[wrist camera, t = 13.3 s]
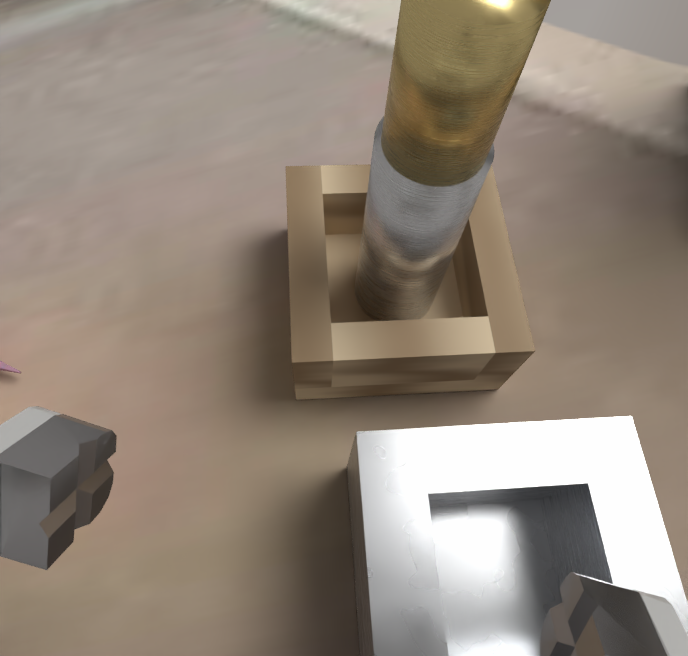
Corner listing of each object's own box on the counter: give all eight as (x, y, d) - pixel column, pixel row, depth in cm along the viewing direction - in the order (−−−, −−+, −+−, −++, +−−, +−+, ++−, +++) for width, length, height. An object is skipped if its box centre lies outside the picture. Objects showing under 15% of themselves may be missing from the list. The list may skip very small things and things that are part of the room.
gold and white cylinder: (429, 254, 25) (544, -75, 12) (439, 324, 24) (582, 31, 11) (352, 256, 25) (389, -78, 12) (357, 327, 23) (406, 31, 11)
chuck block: (556, 453, 23) (631, 415, 18) (616, 707, 19) (733, 758, 14) (346, 466, 22) (356, 431, 17) (365, 731, 19) (385, 795, 13)
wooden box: (465, 222, 28) (491, 161, 24) (498, 389, 24) (535, 350, 20) (290, 228, 27) (285, 166, 23) (296, 399, 23) (291, 362, 19)
